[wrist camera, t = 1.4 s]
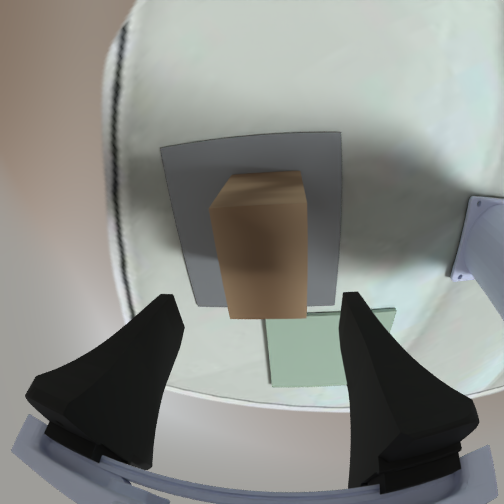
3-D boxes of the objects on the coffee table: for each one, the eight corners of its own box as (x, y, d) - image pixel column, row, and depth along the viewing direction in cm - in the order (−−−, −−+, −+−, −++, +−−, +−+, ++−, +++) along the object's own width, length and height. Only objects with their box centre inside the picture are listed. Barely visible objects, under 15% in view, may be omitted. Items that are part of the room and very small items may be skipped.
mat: (395, 307, 22) (396, 311, 22) (370, 379, 28) (370, 382, 28) (265, 314, 24) (265, 317, 24) (272, 384, 30) (272, 387, 30)
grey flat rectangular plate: (340, 132, 16) (341, 132, 15) (334, 303, 23) (334, 305, 22) (161, 147, 17) (160, 148, 17) (198, 305, 24) (197, 306, 24)
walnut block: (300, 170, 17) (306, 203, 12) (302, 262, 21) (306, 318, 15) (231, 174, 18) (208, 208, 13) (243, 263, 21) (230, 318, 16)
